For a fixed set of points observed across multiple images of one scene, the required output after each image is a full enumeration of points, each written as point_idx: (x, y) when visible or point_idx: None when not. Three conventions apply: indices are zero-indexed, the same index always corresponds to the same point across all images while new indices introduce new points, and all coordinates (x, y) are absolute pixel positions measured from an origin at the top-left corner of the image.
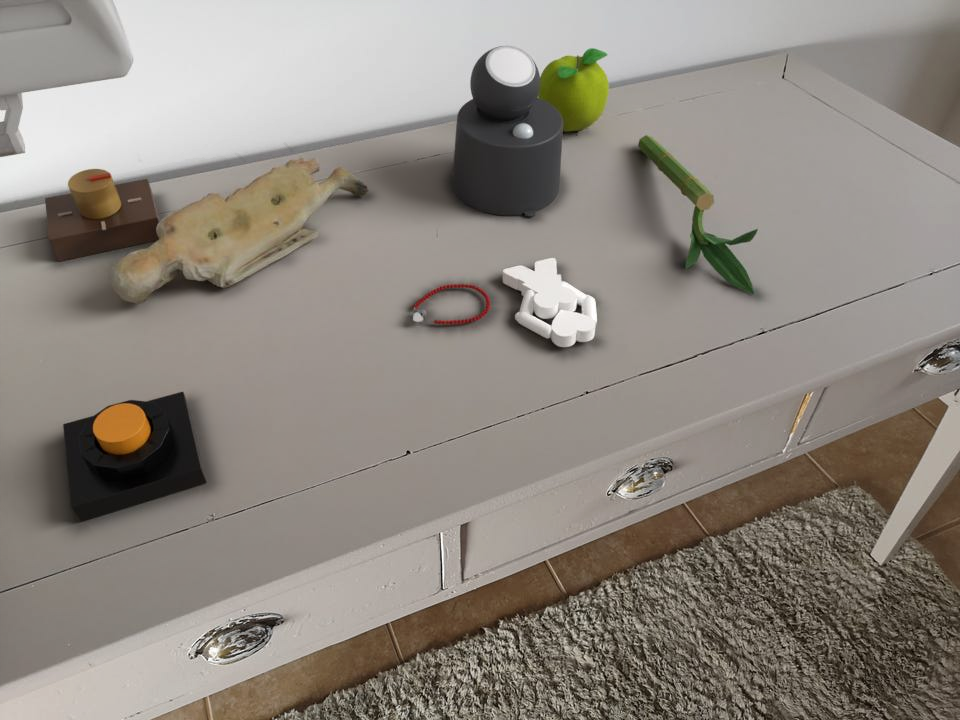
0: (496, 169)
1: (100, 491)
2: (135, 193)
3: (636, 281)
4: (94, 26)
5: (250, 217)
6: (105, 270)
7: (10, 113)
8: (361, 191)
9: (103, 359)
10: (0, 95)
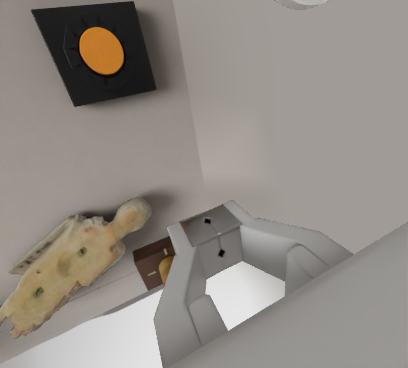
0: None
1: (114, 10)
2: (152, 278)
3: None
4: None
5: (57, 272)
6: (162, 224)
7: (184, 291)
8: None
9: (148, 155)
10: (206, 347)
